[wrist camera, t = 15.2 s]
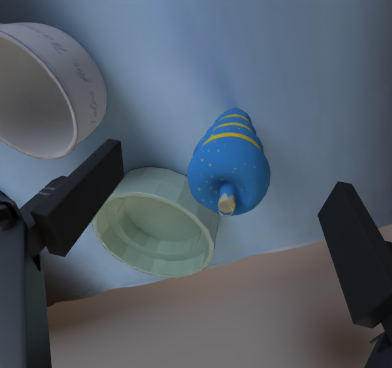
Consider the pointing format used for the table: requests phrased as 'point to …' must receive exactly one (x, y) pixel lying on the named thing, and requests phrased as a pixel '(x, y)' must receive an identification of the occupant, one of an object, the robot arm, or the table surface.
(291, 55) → the table surface
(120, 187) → the bowl
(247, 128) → the ornament
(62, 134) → the teacup
